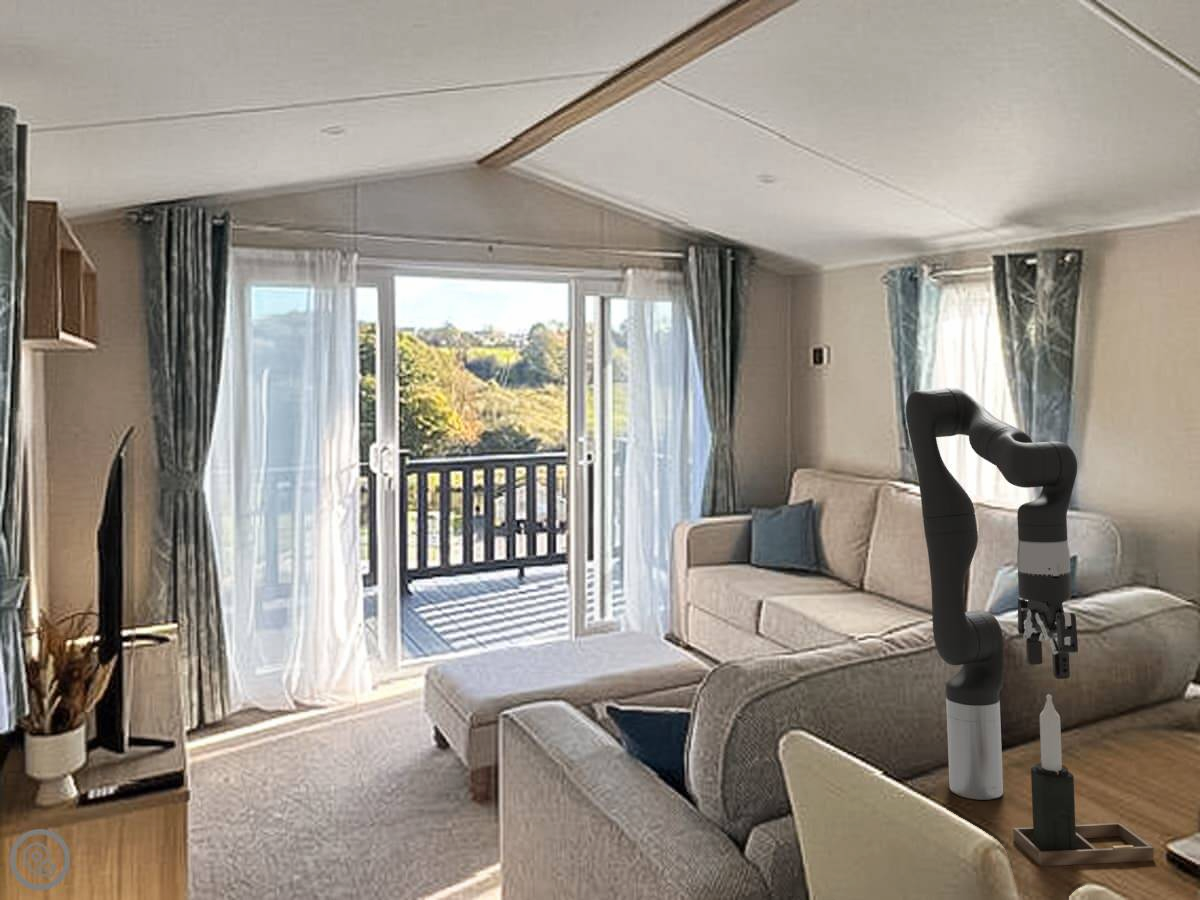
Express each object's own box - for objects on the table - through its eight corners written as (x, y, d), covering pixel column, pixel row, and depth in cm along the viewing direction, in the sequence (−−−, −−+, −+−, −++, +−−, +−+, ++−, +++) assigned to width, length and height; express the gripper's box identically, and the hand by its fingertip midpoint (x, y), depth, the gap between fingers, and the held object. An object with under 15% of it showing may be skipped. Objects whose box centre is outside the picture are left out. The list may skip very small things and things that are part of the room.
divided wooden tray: (1040, 866, 141) (1040, 851, 141) (1013, 840, 150) (1013, 826, 150) (1154, 860, 141) (1153, 845, 141) (1120, 834, 150) (1119, 820, 150)
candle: (1062, 843, 148) (1056, 689, 148) (1079, 857, 143) (1073, 698, 143) (1031, 845, 148) (1025, 691, 148) (1047, 859, 143) (1041, 700, 143)
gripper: (1000, 563, 152) (1004, 661, 152) (1042, 576, 138) (1046, 684, 138) (1045, 561, 152) (1049, 658, 152) (1092, 574, 138) (1096, 681, 138)
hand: (1047, 670), depth 145 cm, fingers open, 8 cm apart
